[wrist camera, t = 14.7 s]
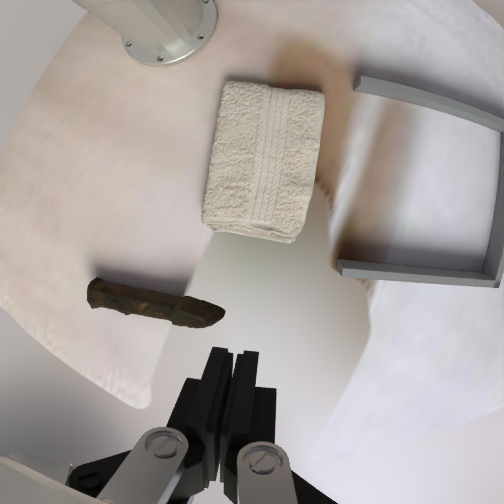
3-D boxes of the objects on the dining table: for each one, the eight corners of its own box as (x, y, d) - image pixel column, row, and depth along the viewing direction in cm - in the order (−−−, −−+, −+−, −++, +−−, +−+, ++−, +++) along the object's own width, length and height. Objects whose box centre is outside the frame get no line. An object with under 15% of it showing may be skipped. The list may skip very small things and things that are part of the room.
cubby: (353, 83, 31) (361, 75, 28) (506, 128, 30) (521, 127, 26) (336, 266, 37) (341, 276, 34) (486, 279, 36) (498, 287, 33)
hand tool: (99, 299, 42) (83, 312, 37) (98, 274, 41) (81, 286, 36) (223, 326, 41) (217, 345, 37) (227, 300, 40) (220, 317, 36)
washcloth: (203, 227, 38) (197, 232, 35) (223, 81, 33) (218, 75, 30) (301, 242, 37) (303, 249, 34) (324, 95, 32) (328, 89, 29)
